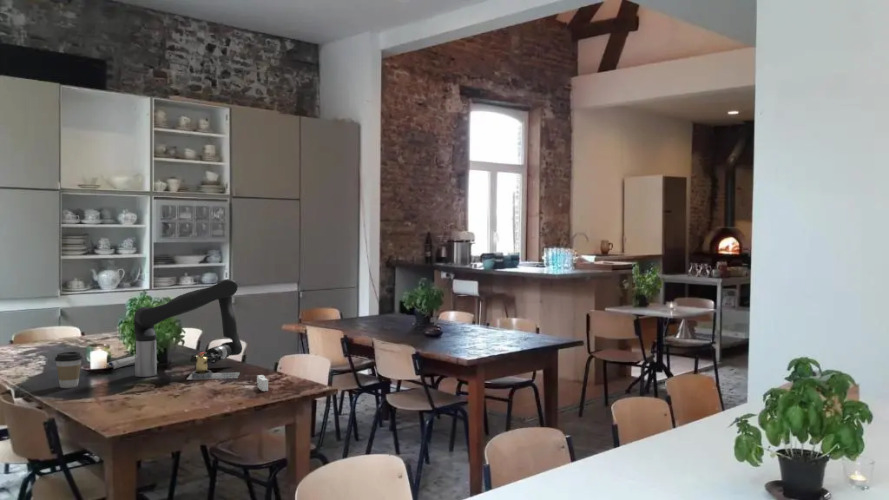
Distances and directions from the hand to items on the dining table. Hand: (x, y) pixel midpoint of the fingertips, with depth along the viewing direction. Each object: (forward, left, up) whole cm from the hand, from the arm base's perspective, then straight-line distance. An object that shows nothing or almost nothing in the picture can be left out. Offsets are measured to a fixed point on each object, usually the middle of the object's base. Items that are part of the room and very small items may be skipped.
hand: (199, 360), depth 344 cm
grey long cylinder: (-40, +43, -10) cm, 59 cm away
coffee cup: (-56, -5, -10) cm, 57 cm away
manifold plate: (+6, +2, -10) cm, 12 cm away
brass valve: (+1, +2, -8) cm, 8 cm away
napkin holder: (+31, -21, -10) cm, 39 cm away
